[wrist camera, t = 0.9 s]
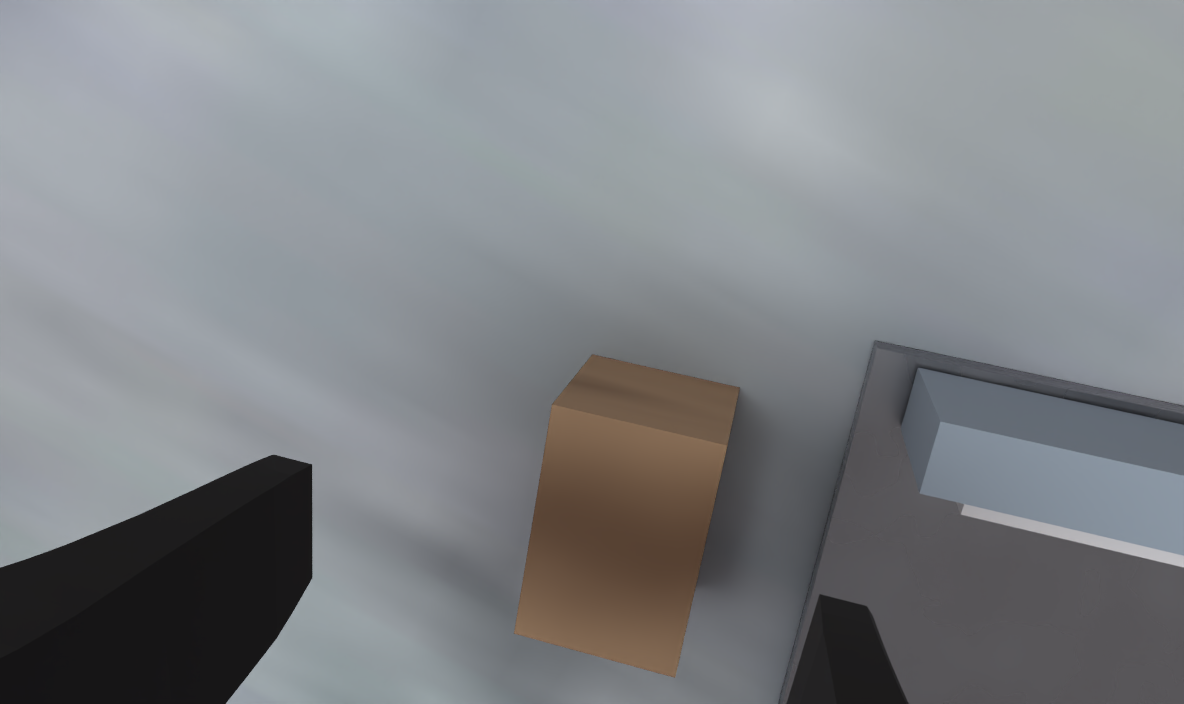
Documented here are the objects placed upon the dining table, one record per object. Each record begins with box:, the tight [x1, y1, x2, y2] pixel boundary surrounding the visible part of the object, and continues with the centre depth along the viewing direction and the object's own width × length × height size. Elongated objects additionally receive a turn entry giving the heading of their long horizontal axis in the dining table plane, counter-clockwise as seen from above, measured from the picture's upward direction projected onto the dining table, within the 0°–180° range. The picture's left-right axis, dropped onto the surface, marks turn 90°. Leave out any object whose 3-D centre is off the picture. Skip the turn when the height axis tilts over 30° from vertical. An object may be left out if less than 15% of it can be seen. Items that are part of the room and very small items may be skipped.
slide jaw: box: [901, 368, 1184, 567], centre depth 20 cm, size 6×10×4 cm, turn 79°
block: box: [514, 355, 740, 678], centre depth 24 cm, size 6×4×4 cm, turn 169°
